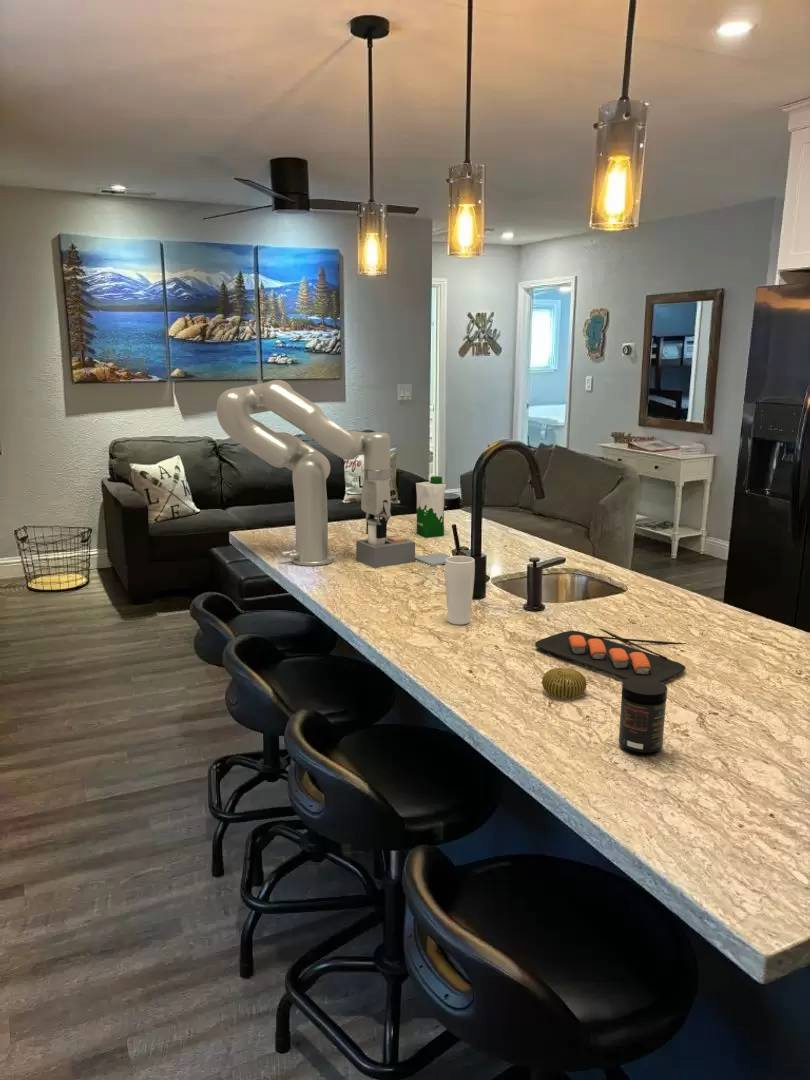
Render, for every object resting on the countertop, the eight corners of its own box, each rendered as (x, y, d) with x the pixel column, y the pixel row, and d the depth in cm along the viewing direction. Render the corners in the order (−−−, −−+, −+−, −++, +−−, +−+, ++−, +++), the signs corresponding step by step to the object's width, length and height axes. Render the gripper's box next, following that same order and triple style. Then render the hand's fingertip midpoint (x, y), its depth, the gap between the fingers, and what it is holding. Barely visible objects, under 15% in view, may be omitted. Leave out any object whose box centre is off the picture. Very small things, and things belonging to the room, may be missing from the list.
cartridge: (372, 562, 237) (373, 522, 234) (364, 558, 241) (364, 519, 238) (388, 560, 239) (388, 521, 237) (379, 556, 244) (379, 517, 241)
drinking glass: (471, 627, 182) (473, 563, 179) (442, 625, 184) (443, 562, 180) (475, 618, 189) (476, 556, 185) (446, 616, 190) (447, 554, 187)
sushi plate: (528, 651, 169) (529, 634, 168) (613, 622, 188) (614, 606, 187) (649, 695, 148) (650, 675, 147) (731, 657, 167) (732, 639, 166)
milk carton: (447, 536, 274) (448, 478, 270) (423, 538, 271) (424, 480, 266) (435, 531, 282) (436, 475, 278) (412, 533, 279) (412, 476, 274)
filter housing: (374, 567, 233) (374, 547, 232) (356, 559, 243) (356, 540, 241) (415, 561, 241) (415, 542, 239) (396, 554, 250) (396, 535, 248)
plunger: (394, 556, 241) (394, 540, 239) (388, 553, 244) (387, 537, 243) (406, 554, 243) (406, 538, 242) (399, 551, 246) (399, 536, 245)
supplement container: (665, 742, 128) (670, 681, 126) (659, 761, 122) (664, 697, 120) (622, 734, 131) (626, 674, 129) (614, 752, 125) (618, 689, 123)
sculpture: (533, 672, 146) (559, 661, 152) (532, 693, 147) (558, 681, 153) (570, 684, 141) (595, 672, 146) (569, 706, 142) (594, 693, 147)
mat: (431, 566, 235) (431, 564, 235) (413, 559, 243) (413, 557, 243) (459, 562, 240) (459, 559, 240) (440, 555, 248) (440, 552, 248)
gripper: (351, 472, 240) (351, 531, 244) (380, 479, 225) (379, 543, 229) (373, 470, 243) (373, 529, 247) (403, 478, 229) (402, 540, 233)
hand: (376, 535), depth 238 cm, fingers closed on cartridge, 5 cm apart
